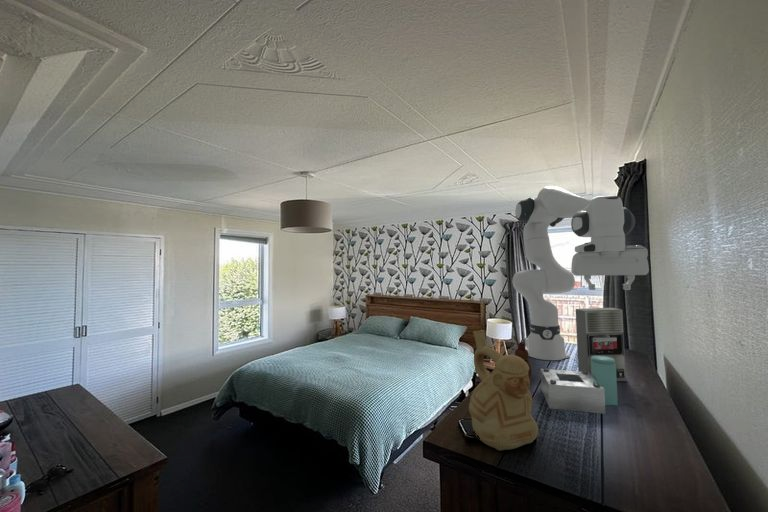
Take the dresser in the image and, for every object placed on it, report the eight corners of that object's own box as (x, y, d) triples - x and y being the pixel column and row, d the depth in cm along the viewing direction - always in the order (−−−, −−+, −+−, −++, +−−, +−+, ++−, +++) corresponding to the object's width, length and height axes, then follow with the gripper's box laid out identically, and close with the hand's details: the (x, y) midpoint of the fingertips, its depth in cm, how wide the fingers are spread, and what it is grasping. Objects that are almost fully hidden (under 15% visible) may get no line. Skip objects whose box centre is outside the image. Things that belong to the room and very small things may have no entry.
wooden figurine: (533, 383, 111) (531, 340, 111) (516, 383, 112) (514, 340, 112) (528, 377, 117) (527, 336, 118) (512, 376, 118) (510, 336, 119)
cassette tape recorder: (588, 383, 110) (585, 311, 110) (578, 377, 116) (574, 308, 117) (628, 382, 110) (624, 309, 111) (615, 375, 116) (612, 307, 117)
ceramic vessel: (496, 467, 67) (492, 348, 67) (451, 423, 85) (448, 330, 86) (561, 451, 71) (556, 340, 72) (505, 413, 90) (501, 325, 91)
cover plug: (589, 396, 99) (588, 355, 100) (612, 397, 98) (610, 356, 98) (596, 404, 94) (594, 361, 94) (620, 406, 92) (618, 362, 92)
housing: (541, 389, 105) (540, 366, 106) (589, 393, 101) (588, 370, 101) (549, 408, 92) (548, 382, 92) (605, 414, 88) (604, 386, 88)
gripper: (642, 244, 100) (643, 288, 100) (569, 247, 106) (570, 288, 106) (652, 244, 94) (653, 290, 94) (574, 247, 100) (575, 290, 100)
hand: (609, 289), depth 100 cm, fingers open, 8 cm apart
